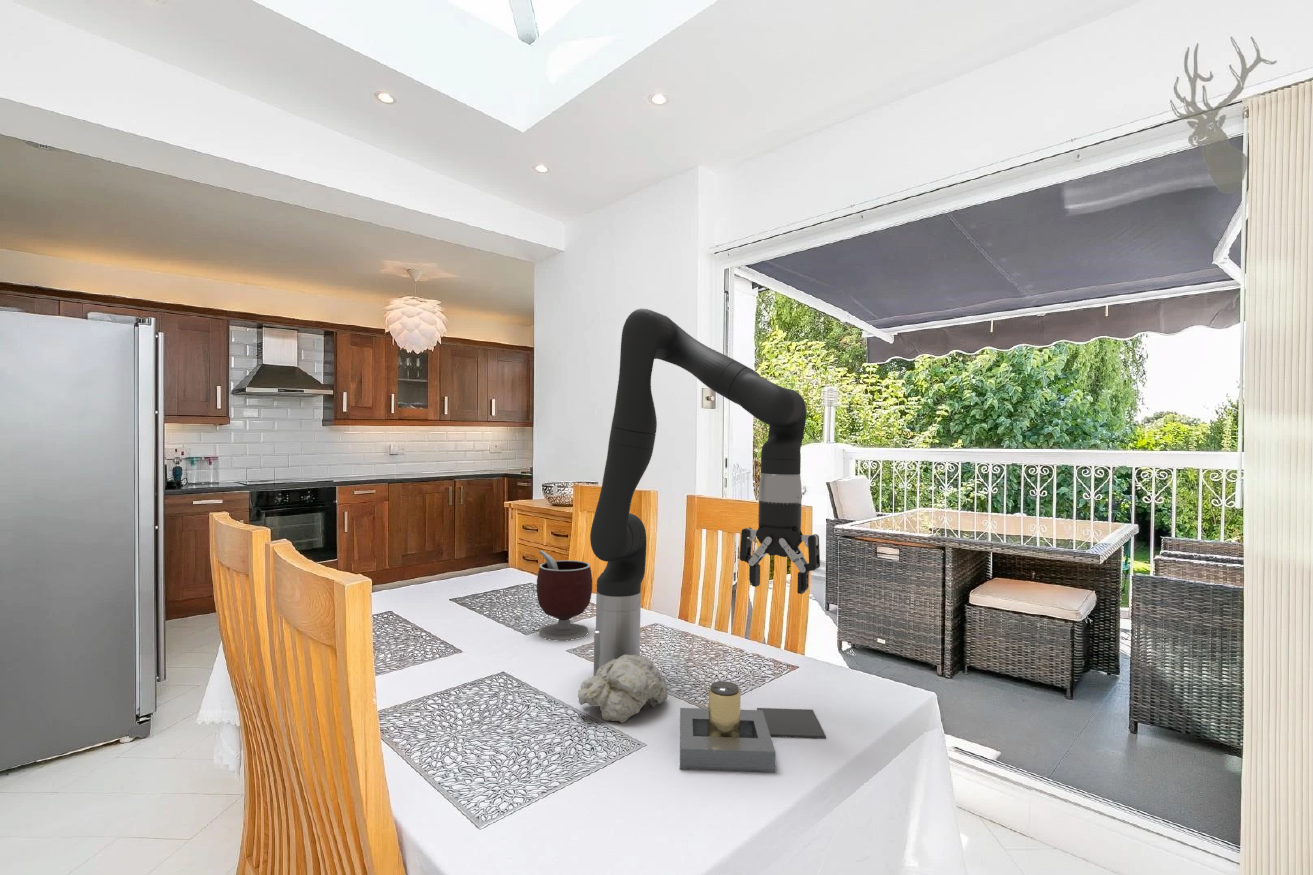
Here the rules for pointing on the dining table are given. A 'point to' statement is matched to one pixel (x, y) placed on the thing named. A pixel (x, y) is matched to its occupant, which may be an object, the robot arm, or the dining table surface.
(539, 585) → the mate gourd
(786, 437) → the robot arm
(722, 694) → the tan cylinder
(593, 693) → the mineral
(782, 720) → the mat
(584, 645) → the dining table surface
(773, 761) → the block
